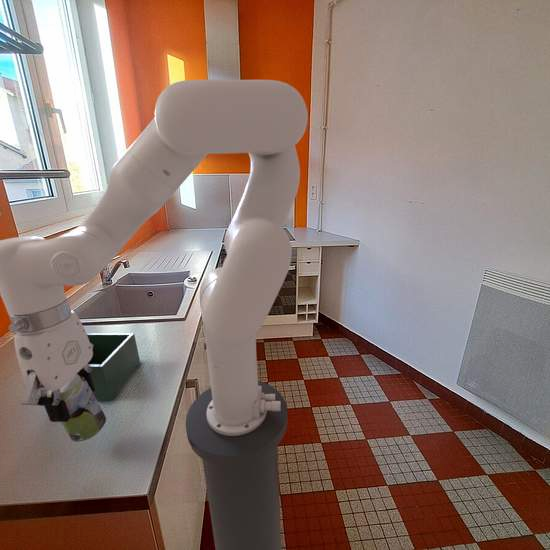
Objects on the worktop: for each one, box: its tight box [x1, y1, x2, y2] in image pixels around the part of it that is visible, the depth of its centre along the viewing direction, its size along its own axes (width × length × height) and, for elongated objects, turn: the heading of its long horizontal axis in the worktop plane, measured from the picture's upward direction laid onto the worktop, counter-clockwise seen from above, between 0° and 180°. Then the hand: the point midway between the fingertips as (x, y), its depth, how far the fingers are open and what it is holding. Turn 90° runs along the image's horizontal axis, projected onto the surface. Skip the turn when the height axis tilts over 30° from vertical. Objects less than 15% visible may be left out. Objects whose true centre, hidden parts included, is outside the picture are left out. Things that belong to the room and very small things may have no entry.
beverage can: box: [47, 374, 107, 442], centre depth 54 cm, size 6×7×12 cm
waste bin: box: [86, 332, 141, 402], centre depth 76 cm, size 15×15×10 cm
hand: (74, 404), depth 54 cm, fingers closed on beverage can, 6 cm apart
